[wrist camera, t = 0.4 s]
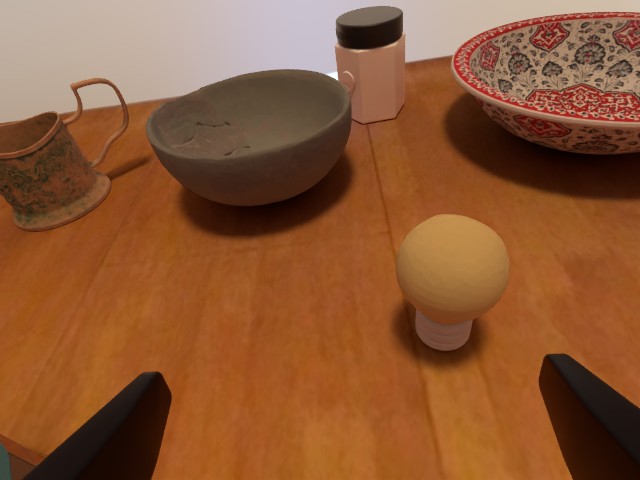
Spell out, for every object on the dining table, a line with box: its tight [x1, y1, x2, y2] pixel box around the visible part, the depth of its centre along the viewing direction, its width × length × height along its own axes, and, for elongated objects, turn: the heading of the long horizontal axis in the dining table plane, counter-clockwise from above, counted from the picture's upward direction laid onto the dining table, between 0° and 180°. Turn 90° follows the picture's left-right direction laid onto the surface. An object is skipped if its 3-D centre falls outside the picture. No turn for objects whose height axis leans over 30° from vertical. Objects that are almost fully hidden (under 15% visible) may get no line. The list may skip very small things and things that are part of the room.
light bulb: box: [396, 214, 510, 351], centre depth 25 cm, size 6×6×10 cm
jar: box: [335, 6, 405, 124], centre depth 51 cm, size 9×8×12 cm
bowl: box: [146, 69, 352, 206], centre depth 42 cm, size 20×20×10 cm
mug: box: [0, 78, 129, 231], centre depth 45 cm, size 12×18×12 cm, turn 124°
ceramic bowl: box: [451, 12, 640, 154], centre depth 42 cm, size 29×29×8 cm
